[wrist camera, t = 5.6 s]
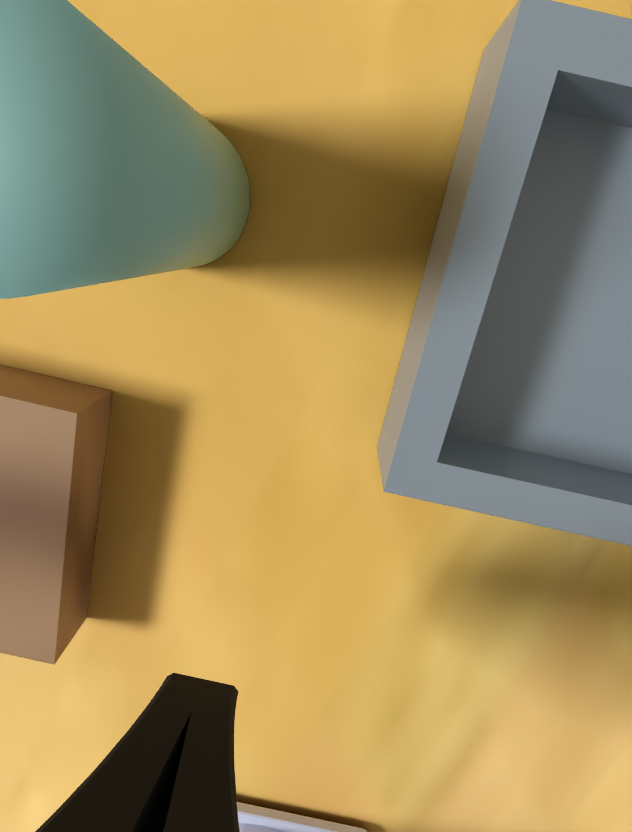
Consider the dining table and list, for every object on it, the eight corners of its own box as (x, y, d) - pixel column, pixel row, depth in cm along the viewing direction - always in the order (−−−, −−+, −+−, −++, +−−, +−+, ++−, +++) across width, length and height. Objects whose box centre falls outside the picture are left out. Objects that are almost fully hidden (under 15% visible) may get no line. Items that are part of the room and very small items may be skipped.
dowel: (238, 280, 14) (113, 327, 7) (104, 251, 14) (-175, 263, 7) (262, 132, 13) (144, -16, 6) (116, 99, 13) (-203, -96, 6)
